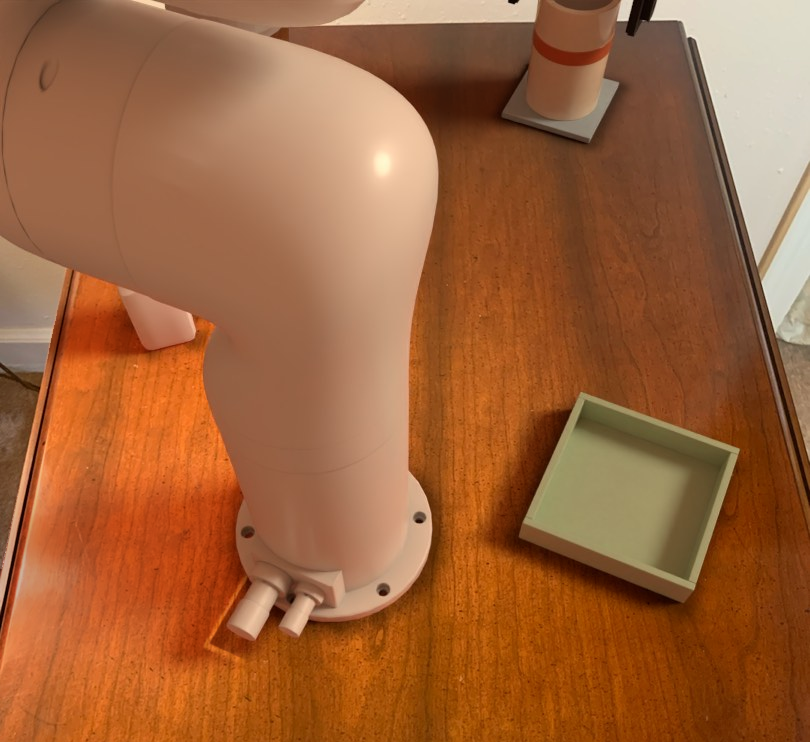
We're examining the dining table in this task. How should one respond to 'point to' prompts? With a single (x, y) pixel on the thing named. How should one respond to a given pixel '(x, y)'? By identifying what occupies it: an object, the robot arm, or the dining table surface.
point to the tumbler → (569, 56)
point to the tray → (631, 496)
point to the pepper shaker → (157, 321)
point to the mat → (573, 129)
